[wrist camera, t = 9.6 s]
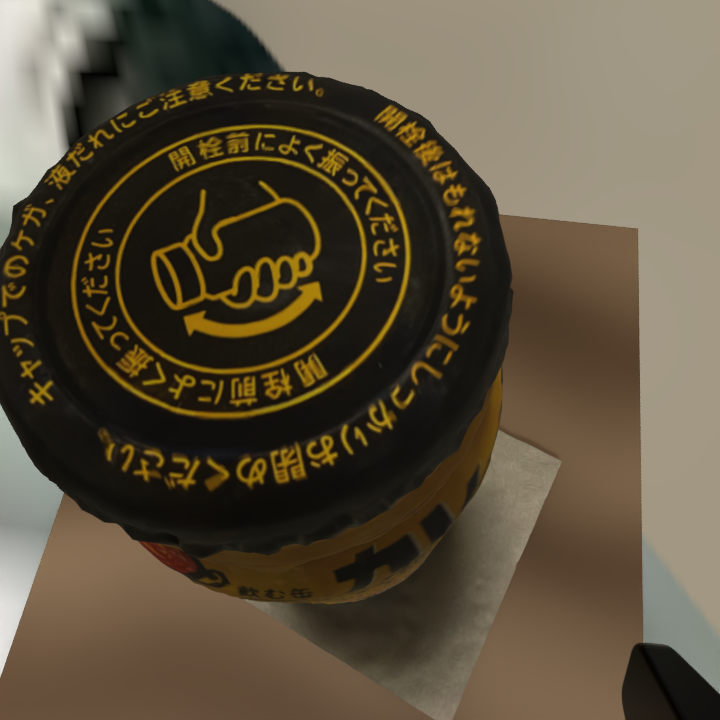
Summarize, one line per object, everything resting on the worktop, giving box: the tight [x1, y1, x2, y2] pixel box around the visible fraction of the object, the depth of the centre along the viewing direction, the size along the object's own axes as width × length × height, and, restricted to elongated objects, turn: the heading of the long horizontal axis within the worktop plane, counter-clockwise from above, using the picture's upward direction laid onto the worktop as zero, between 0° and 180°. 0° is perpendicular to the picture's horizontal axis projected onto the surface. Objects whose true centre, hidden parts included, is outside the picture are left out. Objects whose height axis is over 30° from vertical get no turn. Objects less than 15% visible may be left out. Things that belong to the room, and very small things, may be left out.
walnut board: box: [0, 215, 643, 720], centre depth 17 cm, size 20×16×2 cm
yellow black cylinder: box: [0, 72, 562, 720], centre depth 11 cm, size 7×8×12 cm
